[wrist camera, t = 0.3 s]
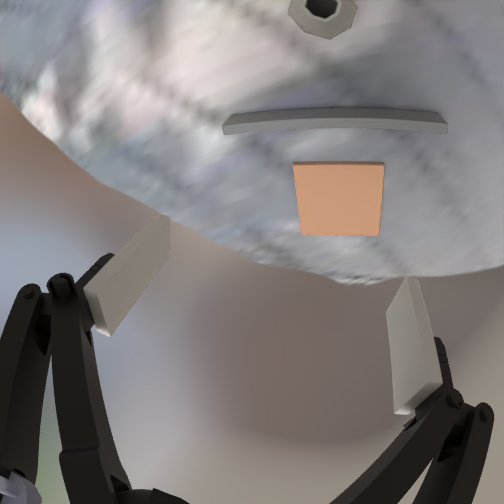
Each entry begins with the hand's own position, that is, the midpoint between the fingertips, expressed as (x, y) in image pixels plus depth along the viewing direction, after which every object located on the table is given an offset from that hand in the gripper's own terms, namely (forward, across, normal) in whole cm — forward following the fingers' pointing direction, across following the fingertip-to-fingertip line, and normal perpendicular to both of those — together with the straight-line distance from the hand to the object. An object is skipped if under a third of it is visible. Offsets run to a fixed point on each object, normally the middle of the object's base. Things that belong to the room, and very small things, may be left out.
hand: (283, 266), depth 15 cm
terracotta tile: (+27, +6, -6) cm, 28 cm away
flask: (+22, -2, +18) cm, 28 cm away
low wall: (+24, +2, +6) cm, 25 cm away
